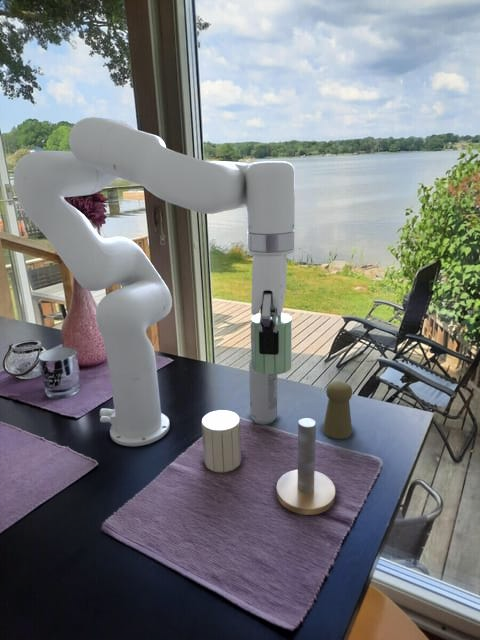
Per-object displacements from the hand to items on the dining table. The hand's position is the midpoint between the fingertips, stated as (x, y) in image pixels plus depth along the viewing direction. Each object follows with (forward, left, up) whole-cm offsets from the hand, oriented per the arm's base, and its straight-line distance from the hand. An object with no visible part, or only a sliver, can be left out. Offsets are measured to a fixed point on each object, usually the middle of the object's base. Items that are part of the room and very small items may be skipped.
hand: (271, 344), depth 77 cm
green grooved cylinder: (0, 0, -4) cm, 4 cm away
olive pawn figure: (+13, +12, -24) cm, 30 cm away
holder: (+7, -8, -24) cm, 26 cm away
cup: (-9, -1, -24) cm, 26 cm away
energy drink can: (-3, +15, -24) cm, 28 cm away
